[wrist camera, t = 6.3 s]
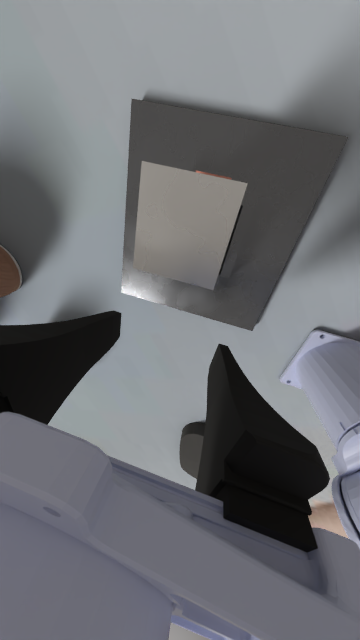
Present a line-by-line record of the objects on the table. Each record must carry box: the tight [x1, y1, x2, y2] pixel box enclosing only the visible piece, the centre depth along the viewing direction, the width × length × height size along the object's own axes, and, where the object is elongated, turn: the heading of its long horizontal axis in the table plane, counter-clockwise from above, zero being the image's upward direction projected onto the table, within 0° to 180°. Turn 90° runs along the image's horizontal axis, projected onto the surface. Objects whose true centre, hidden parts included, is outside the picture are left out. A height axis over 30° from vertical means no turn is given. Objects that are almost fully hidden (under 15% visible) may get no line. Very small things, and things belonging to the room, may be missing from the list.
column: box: [133, 161, 248, 290], centre depth 10 cm, size 4×4×7 cm
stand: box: [121, 99, 348, 331], centre depth 15 cm, size 16×16×5 cm
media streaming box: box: [180, 423, 205, 479], centre depth 30 cm, size 15×15×3 cm
